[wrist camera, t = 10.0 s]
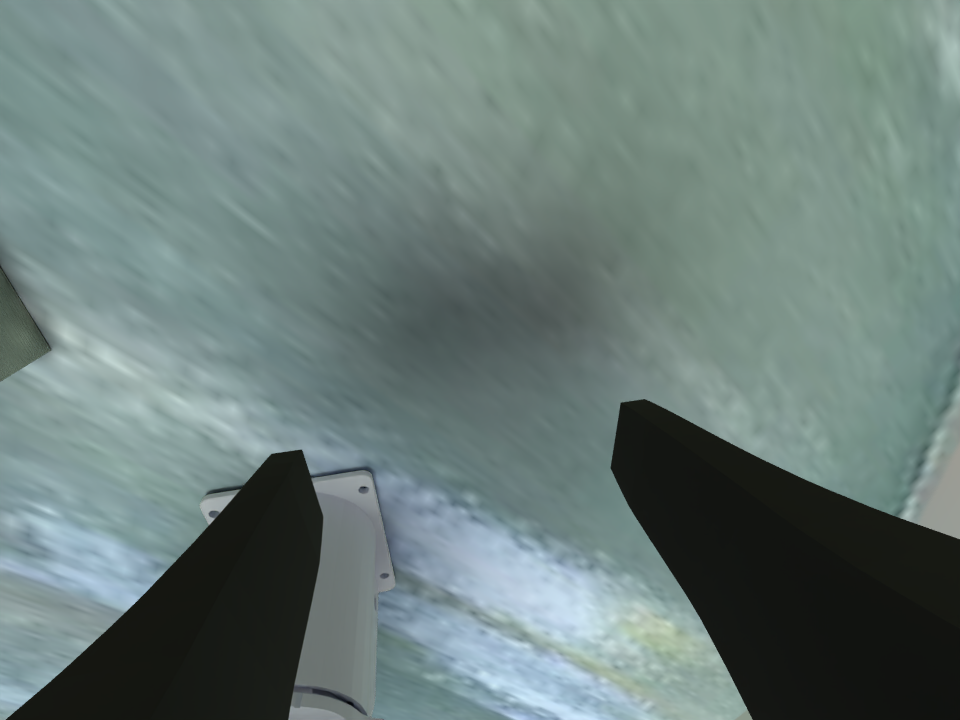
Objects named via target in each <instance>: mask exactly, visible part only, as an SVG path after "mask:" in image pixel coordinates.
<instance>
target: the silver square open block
mask: <svg viewBox="0 0 960 720" xmlns="http://www.w3.org/2000/svg"><path fill="white" fill-rule="evenodd" d="M49 351H51V349H50V348H49V346H48V344H47V343H46V341H45V339H44V338H43V336H42V334H41V333H40V331H39V330H38V328H37V326H36V325H35V323H34V321H33V320H32V318H31V317H30V315H29V313H28V312H27V310H26V308H25V307H24V305H23V304H22V302H21V300H20V299H19V297H18V295H17V294H16V292H15V290H14V289H13V287H12V286H11V284H10V282H9V281H8V279H7V277H6V276H5V274H4V273H3V271H2V269H1V268H0V382H1V381H3V380H4V379H6V378H7V377H9V376H11V375H12V374H14V373H15V372H17V371H19V370H20V369H22V368H23V367H25V366H27V365H28V364H30V363H32V362H33V361H35V360H36V359H38V358H40V357H41V356H43V355H44V354H46V353H48V352H49Z"/></svg>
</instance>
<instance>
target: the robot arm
mask: <svg viewBox="0 0 960 720" xmlns="http://www.w3.org/2000/svg"><path fill="white" fill-rule="evenodd" d="M611 470H612V472H613V474H614V476H615V478H616V481H617V483H618V485H619V487H620V489H621V491H622V493H623V495H624V497H625V499H626V501H627V503H628V505H629V507H630V509H631V510H632V512H633V514H634V515H635V517H636V518H637V520H638V521H639V523H640V525H641V526H642V528H643V529H644V531H645V532H646V534H647V535H648V537H649V539H650V540H651V542H652V543H653V545H654V546H655V548H656V549H657V551H658V552H659V554H660V555H661V557H662V558H663V560H664V562H665V563H666V565H667V566H668V568H669V569H670V571H671V572H672V574H673V575H674V577H675V578H676V580H677V582H678V583H679V585H680V586H681V588H682V589H683V591H684V592H685V594H686V595H687V597H688V599H689V600H690V602H691V604H692V605H693V607H694V609H695V610H696V612H697V614H698V615H699V617H700V619H701V620H702V622H703V624H704V626H705V628H706V630H707V632H708V634H709V635H710V637H711V639H712V641H713V643H714V645H715V647H716V649H717V650H718V652H719V654H720V656H721V658H722V660H723V662H724V664H725V666H726V667H727V669H728V671H729V673H730V675H731V677H732V679H733V681H734V683H735V685H736V687H737V689H738V691H739V693H740V695H741V697H742V699H743V701H744V703H745V705H746V707H747V709H748V711H749V713H750V715H751V717H752V719H753V720H960V539H957V538H954V537H951V536H949V535H946V534H943V533H940V532H937V531H934V530H932V529H929V528H926V527H923V526H920V525H918V524H915V523H912V522H909V521H906V520H903V519H901V518H898V517H895V516H893V515H890V514H887V513H885V512H882V511H879V510H877V509H874V508H872V507H869V506H867V505H864V504H862V503H859V502H857V501H855V500H852V499H850V498H847V497H845V496H842V495H840V494H837V493H835V492H833V491H830V490H828V489H825V488H823V487H821V486H818V485H816V484H814V483H812V482H809V481H807V480H805V479H803V478H800V477H798V476H796V475H794V474H792V473H790V472H788V471H786V470H783V469H781V468H779V467H777V466H775V465H773V464H771V463H769V462H766V461H764V460H762V459H760V458H758V457H756V456H754V455H752V454H750V453H748V452H746V451H744V450H742V449H740V448H738V447H737V446H735V445H733V444H731V443H729V442H727V441H725V440H723V439H721V438H719V437H717V436H715V435H714V434H712V433H710V432H708V431H706V430H704V429H702V428H700V427H699V426H697V425H695V424H693V423H691V422H689V421H687V420H685V419H684V418H682V417H680V416H678V415H676V414H674V413H672V412H670V411H668V410H666V409H664V408H662V407H660V406H658V405H656V404H654V403H652V402H650V401H648V400H645V399H643V400H636V401H629V402H622V403H621V405H620V411H619V418H618V424H617V431H616V437H615V443H614V450H613V456H612V463H611ZM362 486H366V487H367V488H361V487H362ZM199 506H200V509H201V511H202V513H203V515H204V517H205V519H206V520H207V522H208V524H209V526H208V527H207V528H206V529H205V530H204V532H203V533H202V534H201V535H200V536H199V537H198V538H197V539H196V541H195V542H194V543H193V544H192V545H191V546H190V547H189V548H188V549H187V550H186V551H185V552H184V553H183V554H182V555H181V556H180V557H179V558H178V559H177V561H176V562H175V563H174V564H173V565H172V566H171V567H170V568H169V569H168V570H167V571H166V572H165V573H164V574H163V575H162V576H161V577H160V578H159V579H158V580H157V581H156V582H155V583H154V584H153V586H152V587H151V588H150V589H149V590H148V591H147V592H146V593H145V594H144V595H143V596H142V597H141V598H140V599H139V600H138V601H137V602H136V603H135V604H134V605H133V606H132V607H131V608H130V609H129V610H128V611H127V612H126V613H124V614H123V615H122V616H121V617H120V618H119V619H118V620H117V621H116V622H115V623H114V624H113V625H112V626H111V627H110V628H109V629H108V630H107V631H106V632H104V633H103V634H102V635H101V636H100V637H99V638H98V639H97V640H96V641H95V642H94V643H93V644H91V645H90V646H89V647H88V648H87V649H86V650H85V651H84V652H83V653H82V654H81V655H80V656H78V657H77V658H76V659H75V660H74V661H73V662H72V663H71V664H70V665H69V666H67V667H66V668H65V669H64V670H63V671H62V672H61V673H60V674H59V675H57V676H56V677H55V678H54V679H53V680H52V681H51V682H49V683H48V684H47V685H46V686H45V687H44V688H42V689H41V690H40V691H39V692H38V693H37V694H35V695H34V696H33V697H32V698H31V699H29V700H28V701H27V702H26V703H25V704H24V705H22V706H21V707H20V708H19V709H18V710H16V711H15V712H14V713H13V714H12V715H11V716H9V717H8V718H7V719H6V720H384V719H380V718H373V717H371V716H372V713H373V708H374V703H375V692H376V660H377V627H378V594H379V592H384V591H389V590H391V589H393V588H394V587H395V575H394V571H393V566H392V562H391V557H390V553H389V548H388V544H387V540H386V535H385V531H384V526H383V522H382V517H381V513H380V508H379V504H378V499H377V495H376V490H375V486H374V481H373V477H372V474H371V473H370V472H368V471H365V470H360V471H354V472H348V473H341V474H335V475H329V476H322V477H316V478H311V476H310V473H309V470H308V467H307V464H306V461H305V458H304V454H303V451H302V450H295V451H288V452H282V453H275V454H271V455H270V456H269V457H268V458H267V460H266V461H265V462H264V463H263V464H262V465H261V466H260V468H259V469H258V470H257V471H256V472H255V473H254V474H253V476H252V477H251V478H250V479H249V480H248V481H247V483H246V484H245V485H244V486H243V487H242V488H241V489H239V490H233V491H227V492H220V493H214V494H209V495H206V496H205V497H203V499H202V501H201V503H200V505H199ZM216 511H218V512H216Z"/></svg>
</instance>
